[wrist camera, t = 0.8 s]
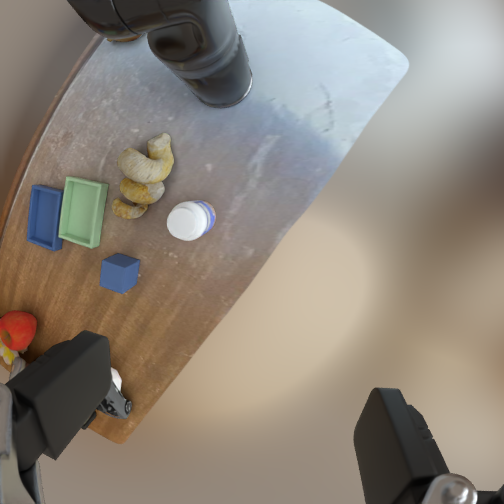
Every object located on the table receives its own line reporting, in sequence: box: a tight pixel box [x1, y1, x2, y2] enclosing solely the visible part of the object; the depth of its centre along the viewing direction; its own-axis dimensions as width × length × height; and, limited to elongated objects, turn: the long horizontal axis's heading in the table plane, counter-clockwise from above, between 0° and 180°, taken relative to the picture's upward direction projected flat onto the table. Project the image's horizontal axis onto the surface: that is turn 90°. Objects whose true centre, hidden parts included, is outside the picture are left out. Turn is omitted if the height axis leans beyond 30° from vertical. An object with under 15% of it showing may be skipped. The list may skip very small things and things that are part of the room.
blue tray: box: [27, 185, 64, 251], centre depth 51 cm, size 11×8×2 cm
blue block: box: [100, 253, 140, 294], centre depth 49 cm, size 4×4×6 cm
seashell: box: [112, 133, 174, 219], centre depth 46 cm, size 10×6×15 cm
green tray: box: [58, 176, 109, 249], centre depth 50 cm, size 11×8×2 cm
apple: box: [0, 310, 37, 351], centre depth 52 cm, size 9×8×11 cm
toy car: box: [96, 367, 132, 419], centre depth 54 cm, size 18×13×9 cm
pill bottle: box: [167, 200, 216, 241], centre depth 44 cm, size 5×5×10 cm
